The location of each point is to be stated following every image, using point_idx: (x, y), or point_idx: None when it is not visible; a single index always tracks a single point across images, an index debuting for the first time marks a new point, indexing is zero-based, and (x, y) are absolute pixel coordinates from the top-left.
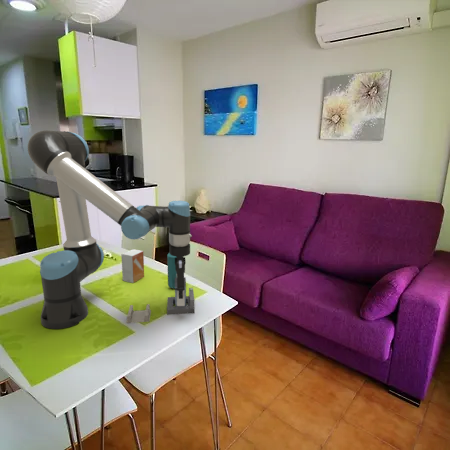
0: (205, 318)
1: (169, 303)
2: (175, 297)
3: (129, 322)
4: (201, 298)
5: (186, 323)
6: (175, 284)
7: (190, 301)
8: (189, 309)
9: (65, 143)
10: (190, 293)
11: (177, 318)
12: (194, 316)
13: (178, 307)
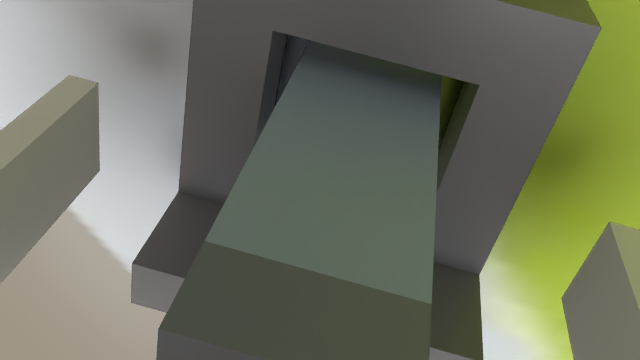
0: (119, 239)
1: (381, 5)
2: (264, 128)
3: None
4: (490, 339)
5: (50, 71)
6: (179, 293)
7: (141, 253)
8: (181, 180)
9: None
10: None
11: (156, 13)
12: (167, 175)
13: (232, 87)
